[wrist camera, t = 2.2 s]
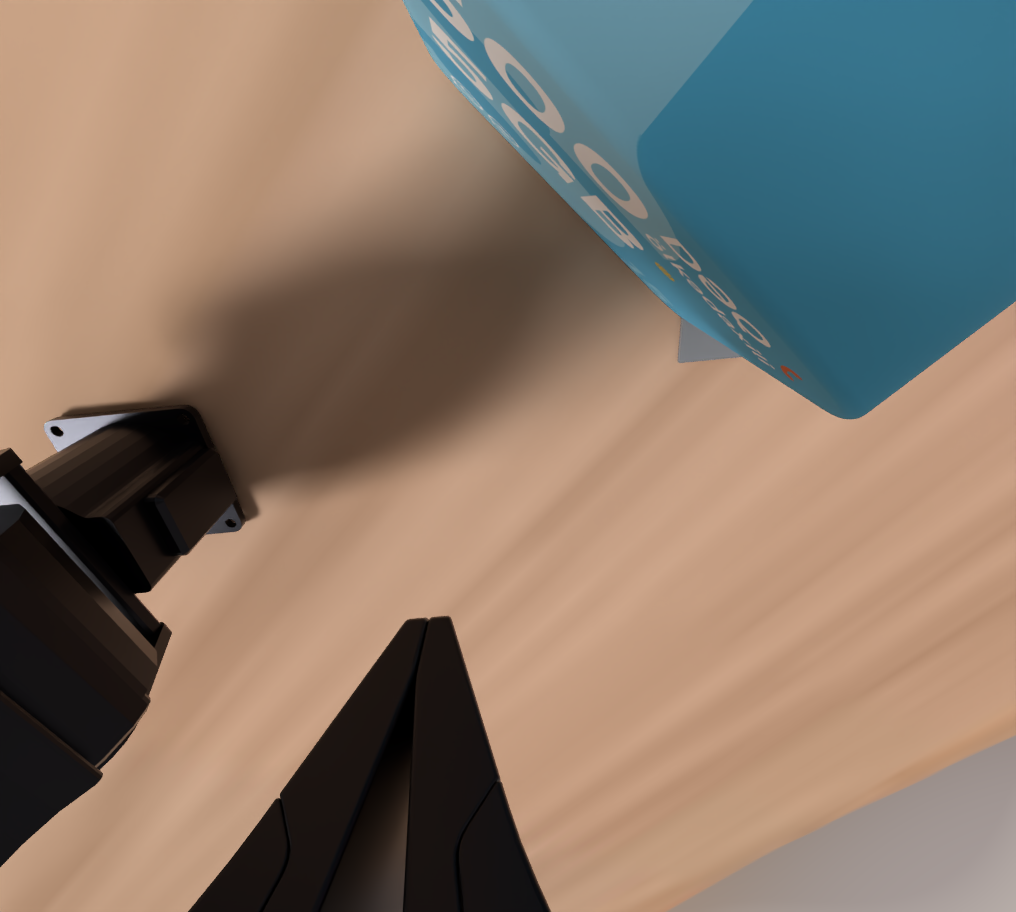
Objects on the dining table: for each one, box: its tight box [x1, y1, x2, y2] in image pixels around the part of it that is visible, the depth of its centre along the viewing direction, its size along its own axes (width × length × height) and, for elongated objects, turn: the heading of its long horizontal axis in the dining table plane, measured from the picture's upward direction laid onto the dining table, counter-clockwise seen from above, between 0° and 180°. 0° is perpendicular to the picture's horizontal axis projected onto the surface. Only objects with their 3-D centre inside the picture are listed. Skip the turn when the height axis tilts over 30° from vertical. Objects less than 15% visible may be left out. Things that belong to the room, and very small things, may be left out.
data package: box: [403, 0, 1016, 419], centre depth 11 cm, size 12×4×12 cm, turn 49°
